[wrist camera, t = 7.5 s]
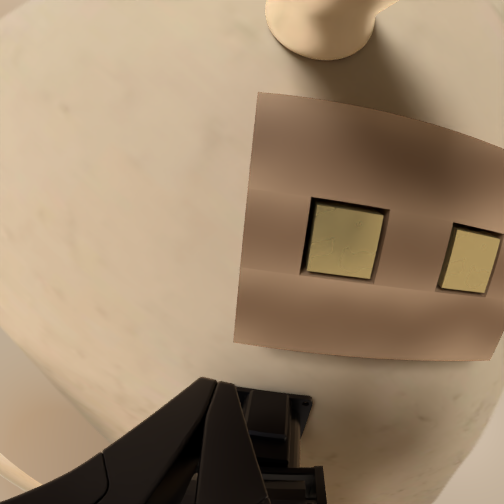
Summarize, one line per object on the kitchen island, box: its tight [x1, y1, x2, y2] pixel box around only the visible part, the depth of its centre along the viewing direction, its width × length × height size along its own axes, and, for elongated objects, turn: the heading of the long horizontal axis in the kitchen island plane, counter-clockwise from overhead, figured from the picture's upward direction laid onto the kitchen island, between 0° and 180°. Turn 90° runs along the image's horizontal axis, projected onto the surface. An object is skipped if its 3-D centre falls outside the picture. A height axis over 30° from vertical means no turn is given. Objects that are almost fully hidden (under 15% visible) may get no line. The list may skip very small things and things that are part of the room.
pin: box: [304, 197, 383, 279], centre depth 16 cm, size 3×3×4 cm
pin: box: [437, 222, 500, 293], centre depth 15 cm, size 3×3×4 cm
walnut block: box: [233, 92, 504, 361], centre depth 15 cm, size 12×16×4 cm
